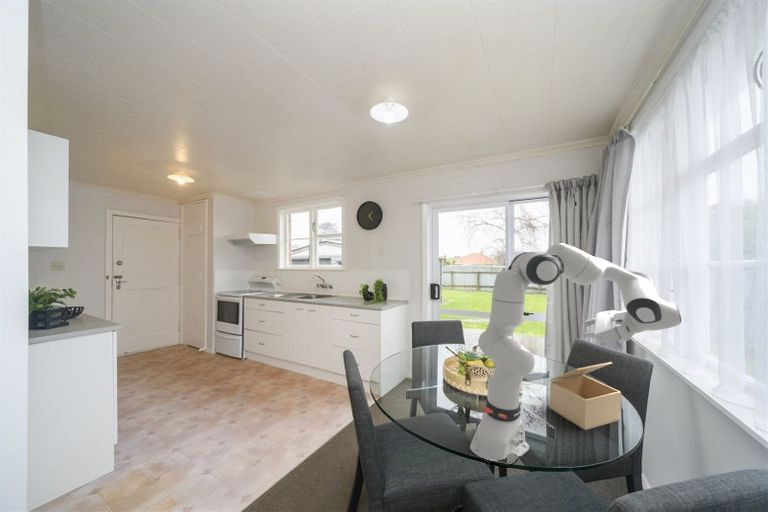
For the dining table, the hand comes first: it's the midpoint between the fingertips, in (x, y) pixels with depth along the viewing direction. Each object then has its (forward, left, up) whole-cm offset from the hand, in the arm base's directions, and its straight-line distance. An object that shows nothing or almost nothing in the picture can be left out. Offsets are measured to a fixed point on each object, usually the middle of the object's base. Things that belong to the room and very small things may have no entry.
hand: (583, 329), depth 121 cm
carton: (+3, -1, -37) cm, 38 cm away
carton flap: (+4, +1, -20) cm, 20 cm away
